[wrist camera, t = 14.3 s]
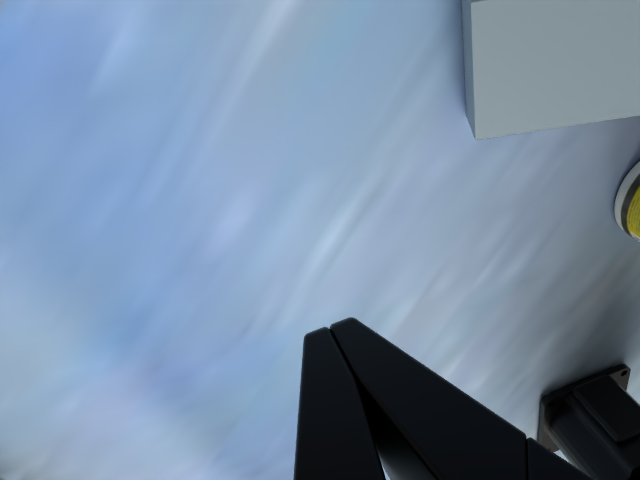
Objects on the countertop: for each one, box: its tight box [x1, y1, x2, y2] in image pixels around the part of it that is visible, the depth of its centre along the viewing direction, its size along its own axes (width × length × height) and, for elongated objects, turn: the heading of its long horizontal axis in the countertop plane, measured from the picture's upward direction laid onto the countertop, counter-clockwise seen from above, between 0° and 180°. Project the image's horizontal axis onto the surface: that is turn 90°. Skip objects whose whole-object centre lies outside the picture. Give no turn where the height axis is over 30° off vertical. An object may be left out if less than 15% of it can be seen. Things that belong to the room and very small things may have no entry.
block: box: [461, 0, 640, 140], centre depth 19 cm, size 5×2×8 cm
